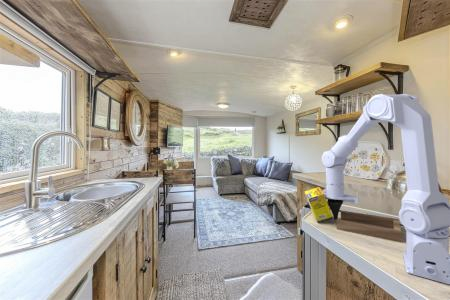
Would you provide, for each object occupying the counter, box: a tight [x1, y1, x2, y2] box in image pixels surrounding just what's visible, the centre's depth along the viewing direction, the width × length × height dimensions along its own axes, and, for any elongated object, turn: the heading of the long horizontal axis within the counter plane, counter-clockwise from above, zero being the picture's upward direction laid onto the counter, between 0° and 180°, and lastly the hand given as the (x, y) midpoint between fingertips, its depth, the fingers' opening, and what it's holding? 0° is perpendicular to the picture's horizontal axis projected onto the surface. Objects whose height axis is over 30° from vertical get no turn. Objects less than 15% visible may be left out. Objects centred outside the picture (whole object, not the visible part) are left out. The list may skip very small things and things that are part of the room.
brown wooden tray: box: [335, 209, 402, 243], centre depth 69 cm, size 11×17×3 cm, turn 52°
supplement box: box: [304, 186, 334, 224], centre depth 76 cm, size 6×6×11 cm
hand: (335, 219), depth 75 cm, fingers closed
